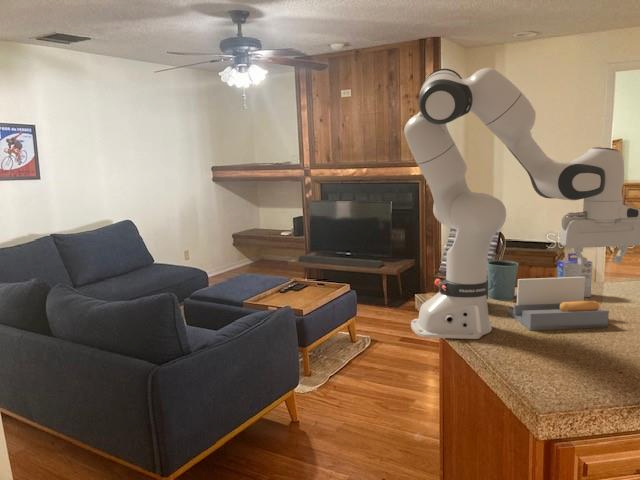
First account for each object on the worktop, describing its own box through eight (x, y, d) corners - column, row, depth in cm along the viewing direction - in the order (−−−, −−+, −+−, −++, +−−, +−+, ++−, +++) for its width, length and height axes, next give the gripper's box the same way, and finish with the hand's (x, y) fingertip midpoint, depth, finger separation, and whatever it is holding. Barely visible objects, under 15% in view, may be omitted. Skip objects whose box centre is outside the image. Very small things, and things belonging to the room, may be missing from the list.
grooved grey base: (530, 330, 142) (530, 313, 141) (507, 312, 158) (508, 298, 157) (607, 327, 142) (609, 310, 141) (577, 310, 158) (578, 295, 157)
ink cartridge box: (583, 293, 177) (585, 252, 174) (591, 297, 171) (594, 255, 169) (555, 293, 177) (557, 253, 175) (562, 298, 171) (564, 256, 169)
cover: (518, 279, 151) (517, 279, 152) (517, 304, 152) (516, 304, 153) (585, 277, 151) (583, 276, 152) (583, 302, 153) (582, 301, 154)
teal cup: (480, 294, 179) (481, 261, 177) (504, 291, 182) (505, 258, 180) (498, 302, 169) (499, 267, 167) (523, 298, 172) (525, 264, 170)
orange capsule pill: (562, 314, 142) (563, 303, 142) (557, 310, 145) (557, 300, 145) (601, 312, 143) (601, 302, 142) (595, 309, 146) (595, 299, 145)
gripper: (568, 214, 128) (566, 267, 130) (649, 210, 128) (645, 264, 130) (556, 211, 134) (554, 262, 136) (633, 207, 134) (630, 259, 136)
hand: (599, 263), depth 133 cm, fingers open, 8 cm apart
